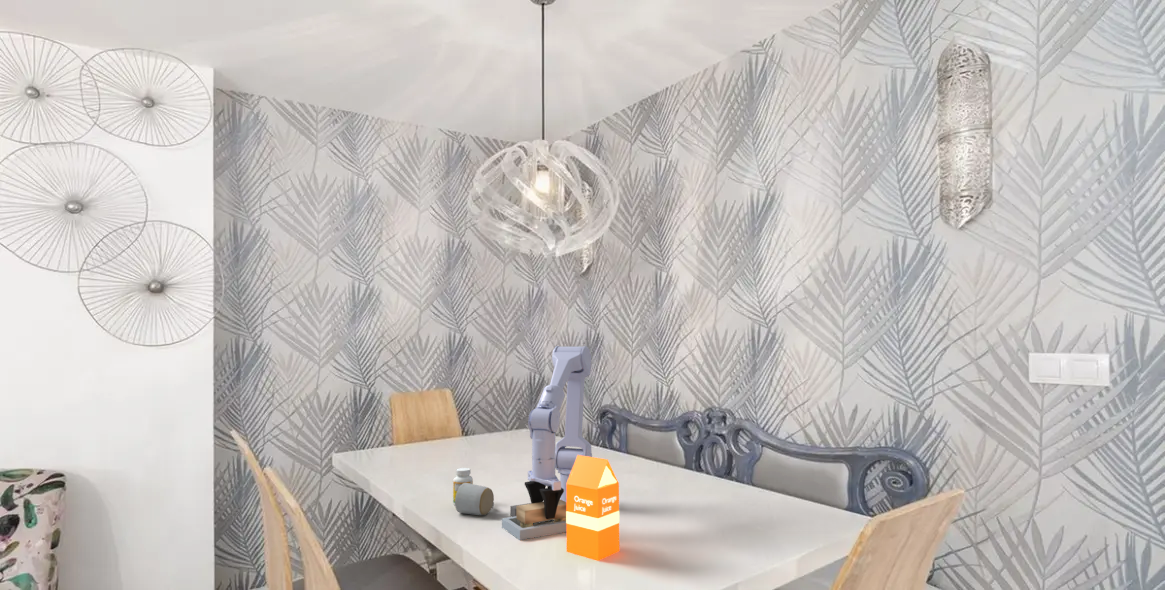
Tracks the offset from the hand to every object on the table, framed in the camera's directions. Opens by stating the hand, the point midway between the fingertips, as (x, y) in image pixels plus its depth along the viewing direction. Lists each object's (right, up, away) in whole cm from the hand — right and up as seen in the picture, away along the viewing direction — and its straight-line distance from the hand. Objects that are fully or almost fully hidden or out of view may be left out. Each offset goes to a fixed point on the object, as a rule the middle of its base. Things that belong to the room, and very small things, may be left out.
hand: (543, 514), depth 144 cm
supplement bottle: (-24, -5, +22) cm, 33 cm away
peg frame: (0, -3, 0) cm, 3 cm away
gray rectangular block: (-5, -4, +11) cm, 12 cm away
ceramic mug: (-19, -5, +13) cm, 24 cm away
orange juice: (+12, -2, -17) cm, 20 cm away
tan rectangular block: (0, -1, 0) cm, 1 cm away
